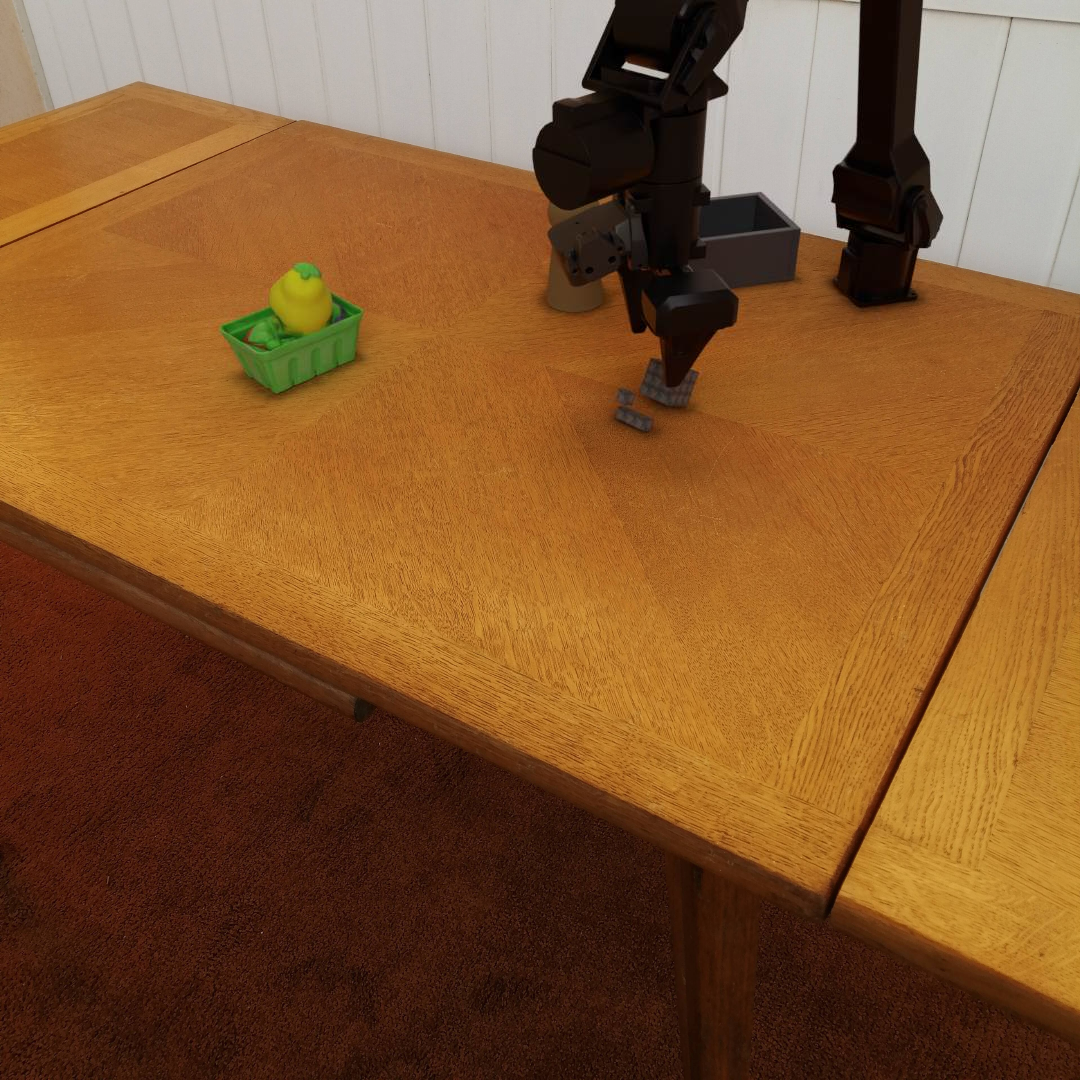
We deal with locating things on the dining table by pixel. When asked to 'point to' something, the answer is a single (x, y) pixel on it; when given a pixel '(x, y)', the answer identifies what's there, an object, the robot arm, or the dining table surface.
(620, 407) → the building blocks
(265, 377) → the fruit basket
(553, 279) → the brown pepper mill
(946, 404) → the dining table surface
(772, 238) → the bin
